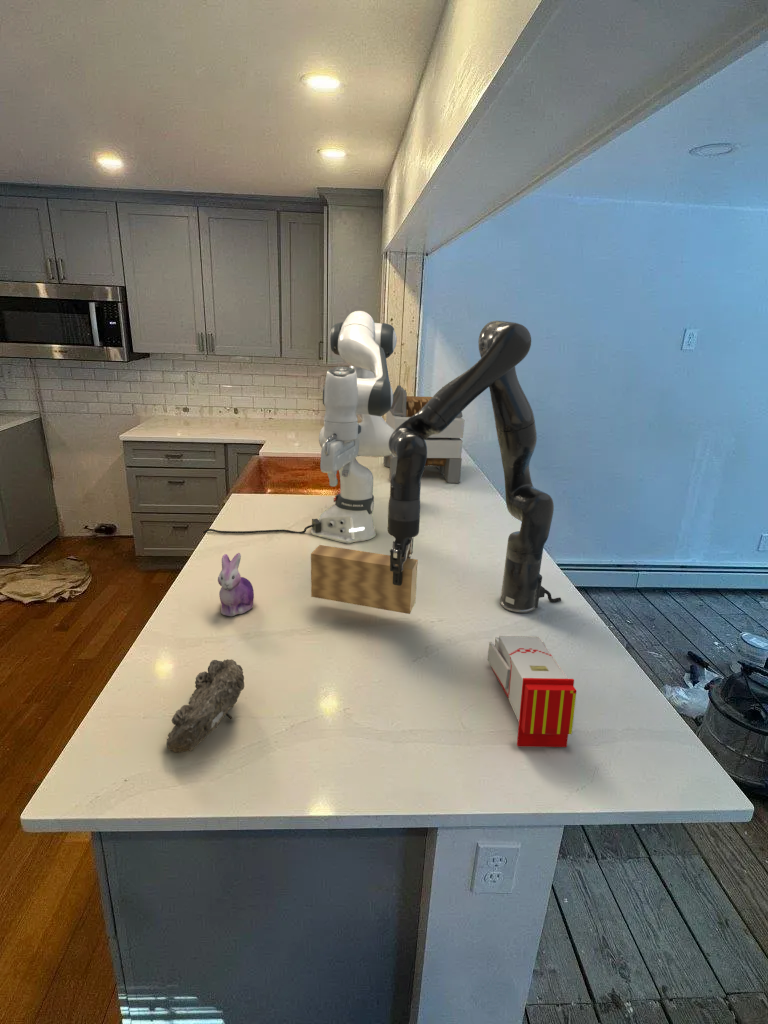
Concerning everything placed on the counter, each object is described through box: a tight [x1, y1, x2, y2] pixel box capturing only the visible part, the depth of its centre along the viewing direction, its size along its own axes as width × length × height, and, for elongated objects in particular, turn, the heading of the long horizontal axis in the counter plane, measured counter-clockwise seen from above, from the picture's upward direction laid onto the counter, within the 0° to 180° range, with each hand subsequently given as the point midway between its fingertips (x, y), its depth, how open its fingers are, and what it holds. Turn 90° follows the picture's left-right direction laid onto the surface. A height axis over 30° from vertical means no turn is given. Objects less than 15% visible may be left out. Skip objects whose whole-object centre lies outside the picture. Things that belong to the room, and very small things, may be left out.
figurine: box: [217, 552, 255, 617], centre depth 144 cm, size 9×10×15 cm
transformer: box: [383, 384, 465, 484], centre depth 268 cm, size 34×33×41 cm
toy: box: [486, 635, 577, 748], centre depth 115 cm, size 12×13×30 cm
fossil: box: [166, 658, 245, 754], centre depth 106 cm, size 22×10×15 cm
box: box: [310, 544, 419, 615], centre depth 142 cm, size 26×6×12 cm, turn 74°
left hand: (339, 481), depth 154 cm, fingers open, 8 cm apart
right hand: (400, 578), depth 139 cm, fingers closed on box, 6 cm apart
